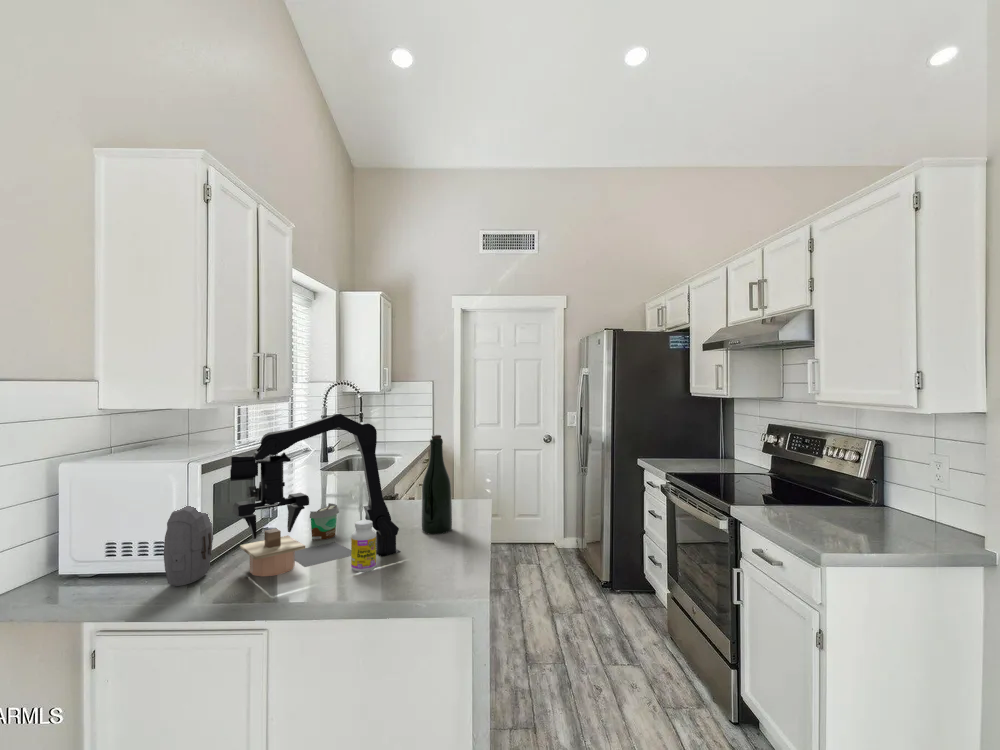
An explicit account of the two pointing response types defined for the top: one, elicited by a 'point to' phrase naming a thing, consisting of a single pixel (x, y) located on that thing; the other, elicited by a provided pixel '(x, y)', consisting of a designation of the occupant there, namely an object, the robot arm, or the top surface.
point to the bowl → (272, 564)
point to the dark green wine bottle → (436, 492)
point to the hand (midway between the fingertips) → (272, 535)
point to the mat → (321, 554)
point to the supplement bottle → (363, 547)
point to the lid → (272, 545)
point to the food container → (324, 522)
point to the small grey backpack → (187, 546)
